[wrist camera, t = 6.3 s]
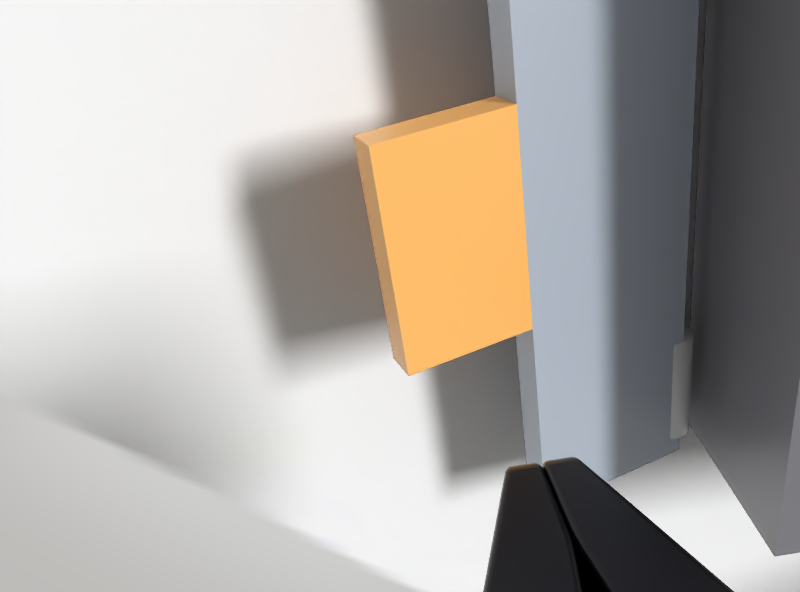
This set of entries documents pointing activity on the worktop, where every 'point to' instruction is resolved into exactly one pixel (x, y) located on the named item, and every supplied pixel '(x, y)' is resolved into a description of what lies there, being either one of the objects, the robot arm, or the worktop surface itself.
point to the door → (554, 224)
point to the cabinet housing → (750, 261)
